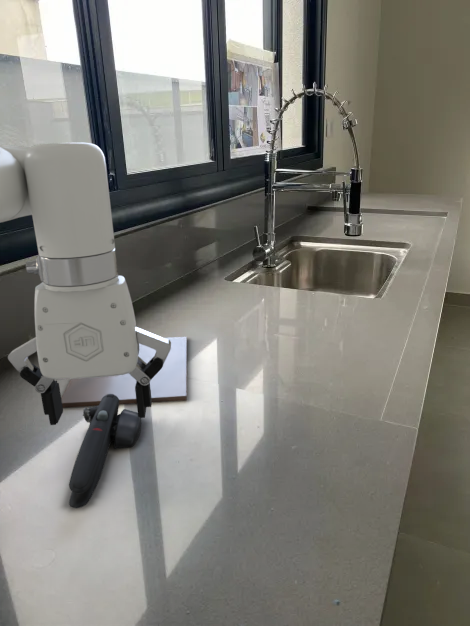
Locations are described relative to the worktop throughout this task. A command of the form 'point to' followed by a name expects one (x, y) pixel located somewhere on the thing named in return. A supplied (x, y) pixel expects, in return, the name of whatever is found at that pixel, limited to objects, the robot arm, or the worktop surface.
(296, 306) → the worktop surface
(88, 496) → the can opener
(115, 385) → the cutting board
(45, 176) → the robot arm
